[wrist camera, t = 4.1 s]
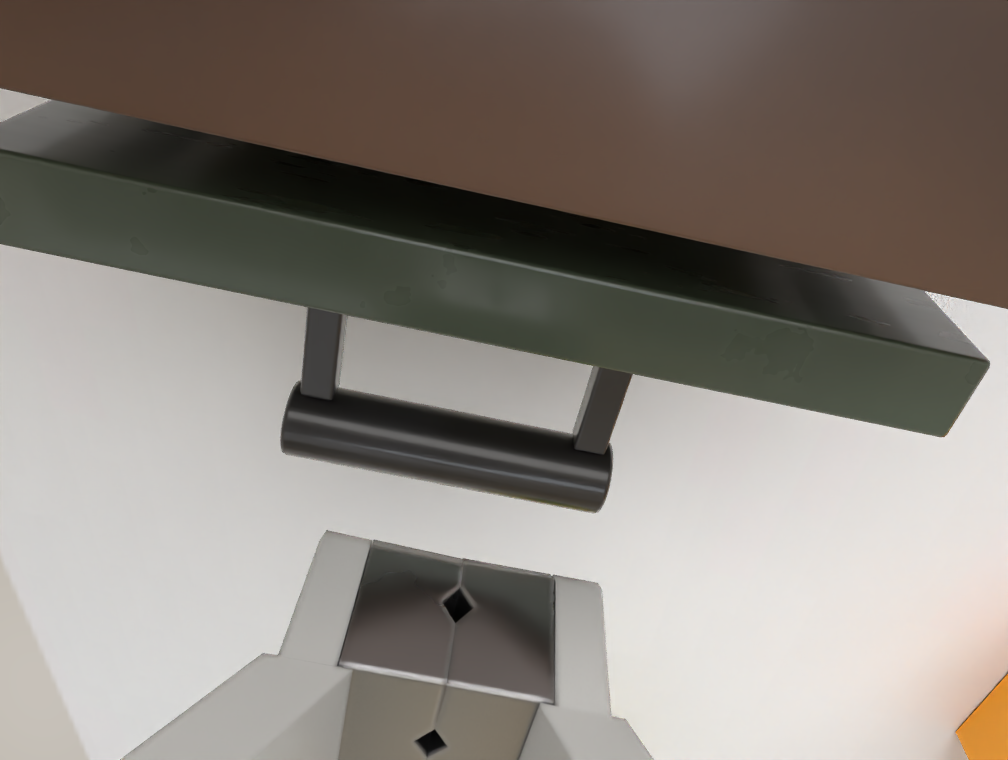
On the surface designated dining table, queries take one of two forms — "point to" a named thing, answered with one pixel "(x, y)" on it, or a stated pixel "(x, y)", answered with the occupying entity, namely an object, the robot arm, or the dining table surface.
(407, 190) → the drawer
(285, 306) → the dining table surface
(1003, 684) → the orange juice
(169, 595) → the dining table surface
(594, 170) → the cabinet
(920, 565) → the dining table surface
